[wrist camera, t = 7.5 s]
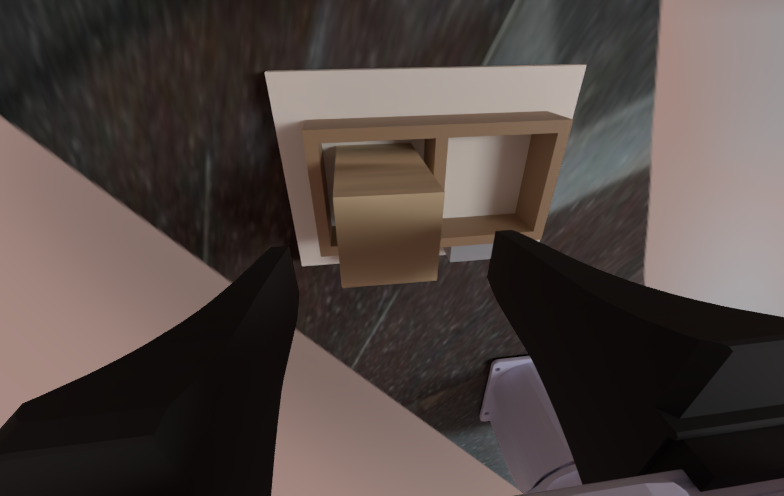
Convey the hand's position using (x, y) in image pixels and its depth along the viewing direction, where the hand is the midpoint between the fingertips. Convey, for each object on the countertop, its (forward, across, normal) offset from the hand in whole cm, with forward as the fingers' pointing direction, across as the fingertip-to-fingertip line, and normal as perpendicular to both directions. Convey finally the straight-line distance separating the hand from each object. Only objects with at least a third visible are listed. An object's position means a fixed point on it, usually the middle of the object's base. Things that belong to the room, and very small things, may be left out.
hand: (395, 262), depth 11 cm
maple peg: (+8, 0, 0) cm, 8 cm away
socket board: (+9, -3, 0) cm, 10 cm away
